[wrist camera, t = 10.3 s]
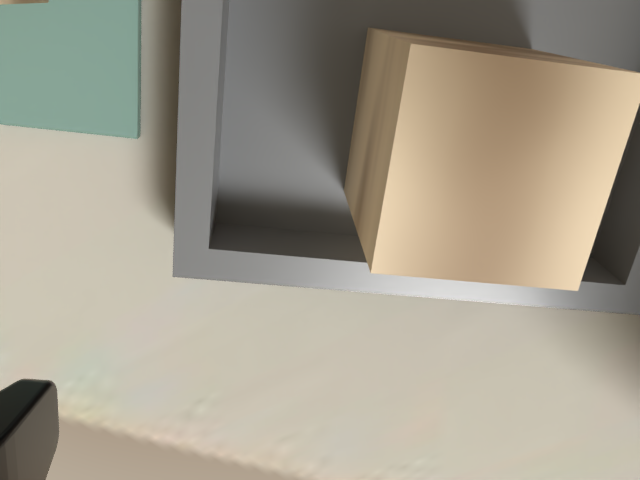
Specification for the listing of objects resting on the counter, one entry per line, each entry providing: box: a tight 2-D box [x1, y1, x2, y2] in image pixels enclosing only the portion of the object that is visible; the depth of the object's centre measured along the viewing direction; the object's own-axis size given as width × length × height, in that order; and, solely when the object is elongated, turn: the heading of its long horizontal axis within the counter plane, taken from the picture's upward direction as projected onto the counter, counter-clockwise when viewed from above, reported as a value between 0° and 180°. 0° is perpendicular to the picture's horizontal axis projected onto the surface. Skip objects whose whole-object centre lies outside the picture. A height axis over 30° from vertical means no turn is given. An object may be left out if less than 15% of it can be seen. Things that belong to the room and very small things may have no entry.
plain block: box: [344, 28, 640, 291], centre depth 15 cm, size 5×5×6 cm
